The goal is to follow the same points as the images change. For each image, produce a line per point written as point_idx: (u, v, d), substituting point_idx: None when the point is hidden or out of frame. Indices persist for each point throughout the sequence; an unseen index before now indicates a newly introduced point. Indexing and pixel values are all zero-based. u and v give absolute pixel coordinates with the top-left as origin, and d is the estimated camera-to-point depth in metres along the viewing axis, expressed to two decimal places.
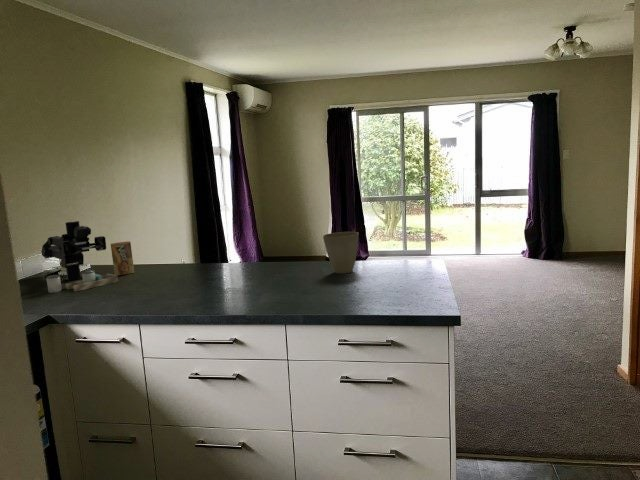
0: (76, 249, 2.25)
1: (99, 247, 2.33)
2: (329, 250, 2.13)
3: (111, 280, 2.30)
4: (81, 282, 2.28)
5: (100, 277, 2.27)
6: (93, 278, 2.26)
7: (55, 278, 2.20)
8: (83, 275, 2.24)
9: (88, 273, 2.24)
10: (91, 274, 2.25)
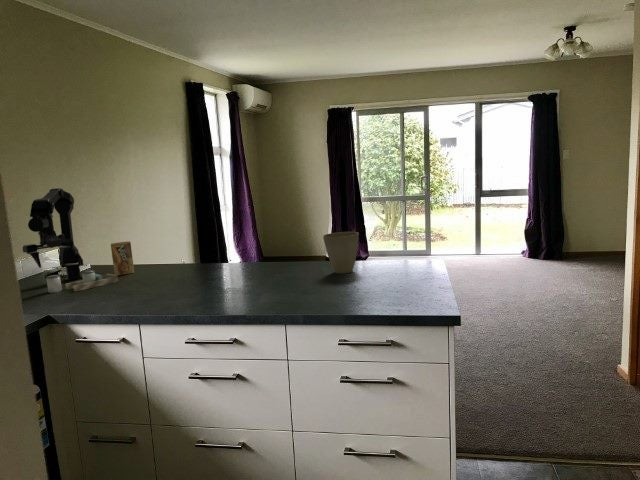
0: (36, 260, 2.16)
1: (60, 254, 2.24)
2: (329, 250, 2.13)
3: (111, 280, 2.30)
4: (81, 282, 2.28)
5: (100, 277, 2.27)
6: (93, 278, 2.26)
7: (55, 278, 2.20)
8: (83, 275, 2.24)
9: (88, 273, 2.24)
10: (91, 274, 2.25)
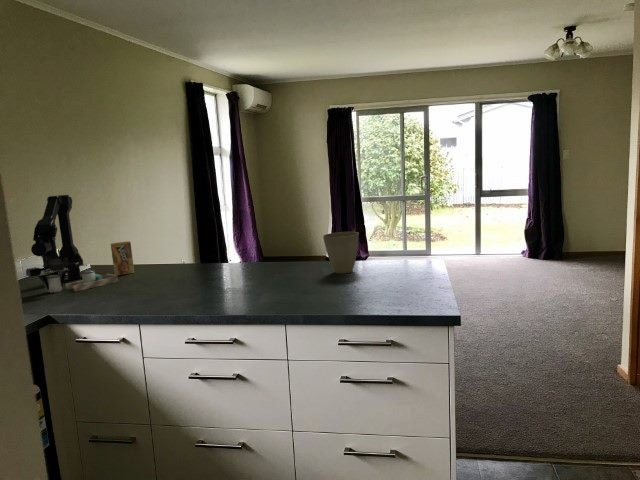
0: (44, 283, 2.19)
1: None
2: (329, 250, 2.13)
3: (111, 280, 2.30)
4: (81, 282, 2.28)
5: (100, 277, 2.27)
6: (93, 278, 2.26)
7: (55, 278, 2.20)
8: (83, 275, 2.24)
9: (88, 273, 2.24)
10: (91, 274, 2.25)
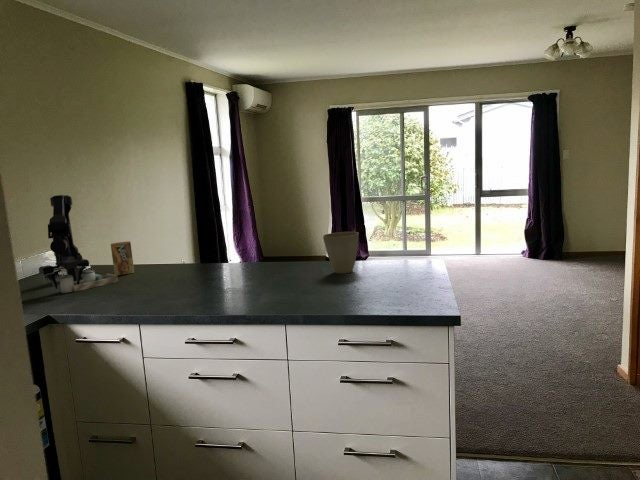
0: (52, 282, 2.16)
1: (76, 274, 2.24)
2: (329, 250, 2.13)
3: (111, 280, 2.30)
4: (81, 282, 2.28)
5: (100, 277, 2.27)
6: (93, 278, 2.26)
7: (68, 278, 2.18)
8: (83, 275, 2.24)
9: (88, 273, 2.24)
10: (91, 274, 2.25)
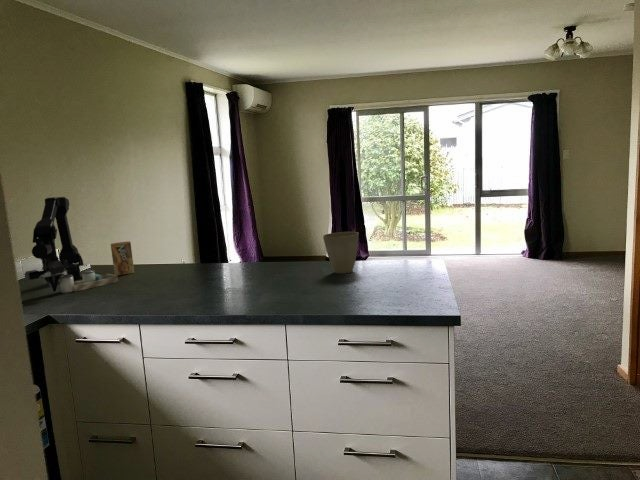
0: (49, 284, 2.15)
1: None
2: (329, 250, 2.13)
3: (111, 280, 2.30)
4: (81, 282, 2.28)
5: (100, 277, 2.27)
6: (93, 278, 2.26)
7: (68, 278, 2.18)
8: (83, 275, 2.24)
9: (88, 273, 2.24)
10: (91, 274, 2.25)
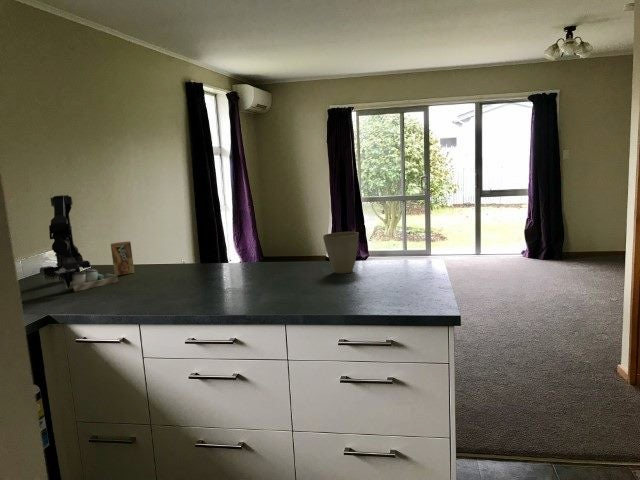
0: (64, 280, 2.19)
1: None
2: (329, 250, 2.13)
3: (111, 280, 2.30)
4: None
5: (102, 277, 2.28)
6: (95, 277, 2.26)
7: (81, 275, 2.22)
8: (86, 273, 2.25)
9: (91, 272, 2.25)
10: (94, 273, 2.26)
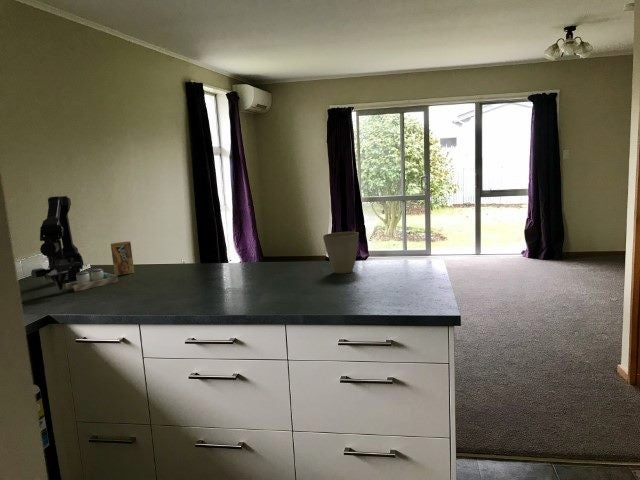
0: (56, 283, 2.17)
1: None
2: (329, 250, 2.13)
3: (111, 280, 2.30)
4: None
5: (108, 275, 2.30)
6: (101, 276, 2.28)
7: (85, 274, 2.23)
8: (92, 273, 2.27)
9: (96, 271, 2.27)
10: (99, 272, 2.28)
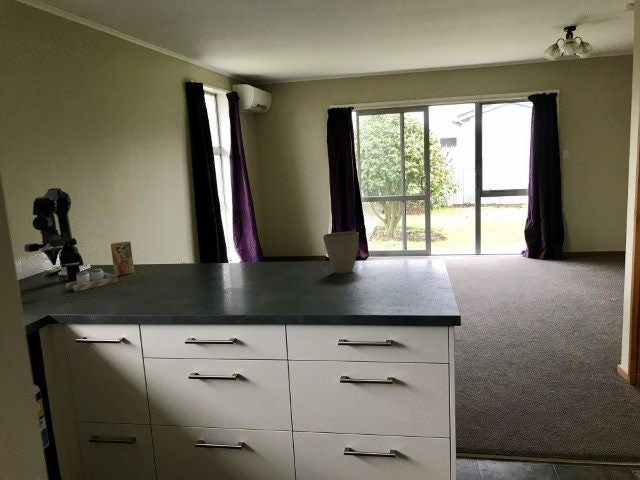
0: (49, 258, 2.15)
1: None
2: (329, 250, 2.13)
3: (111, 280, 2.30)
4: None
5: (108, 275, 2.30)
6: (101, 276, 2.28)
7: (85, 274, 2.23)
8: (92, 273, 2.27)
9: (96, 271, 2.27)
10: (99, 272, 2.28)
